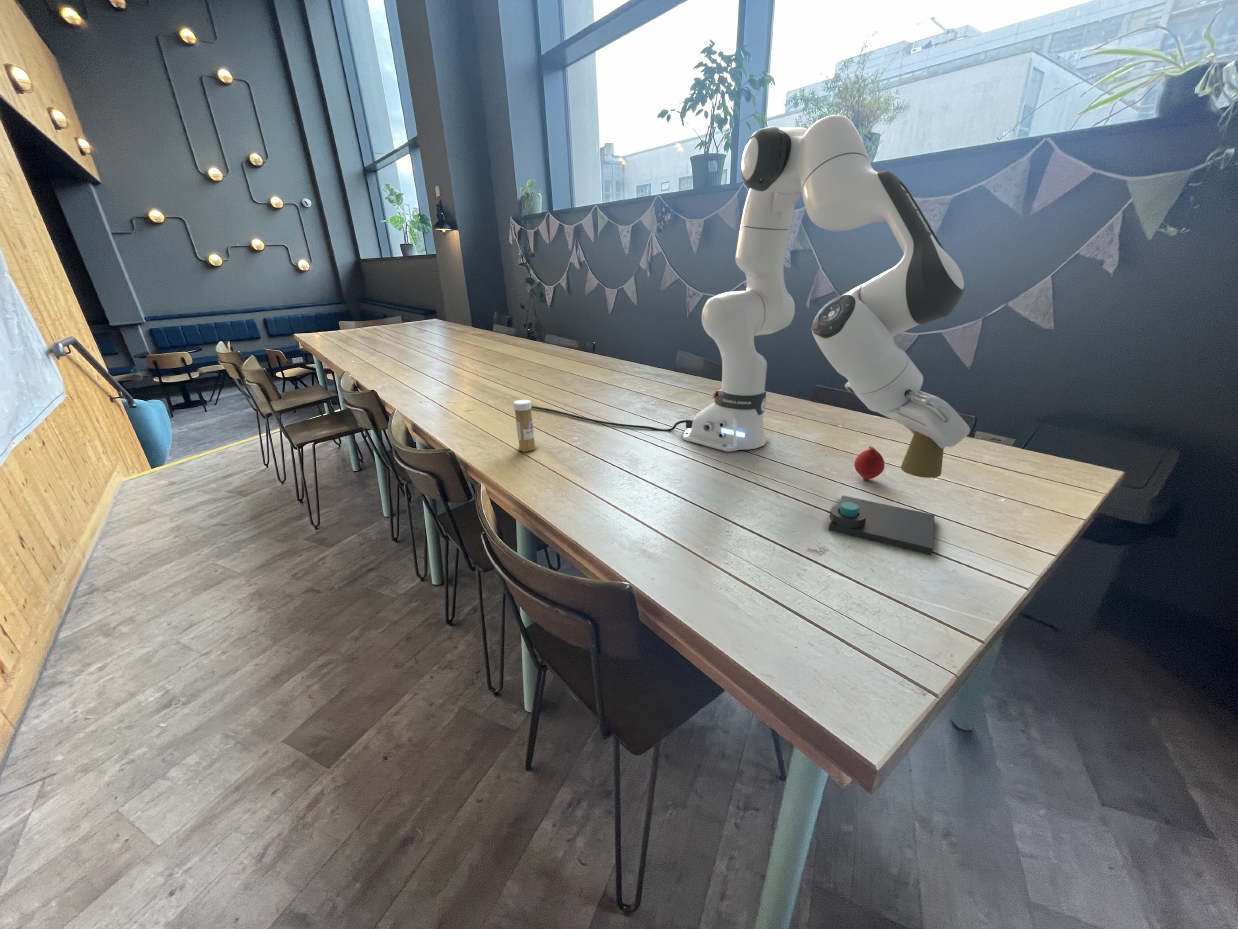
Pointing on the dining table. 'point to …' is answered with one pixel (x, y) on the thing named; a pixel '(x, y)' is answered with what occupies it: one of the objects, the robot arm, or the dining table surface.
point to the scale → (886, 525)
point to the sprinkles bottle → (524, 425)
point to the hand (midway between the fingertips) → (931, 438)
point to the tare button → (849, 509)
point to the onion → (869, 463)
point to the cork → (923, 457)
